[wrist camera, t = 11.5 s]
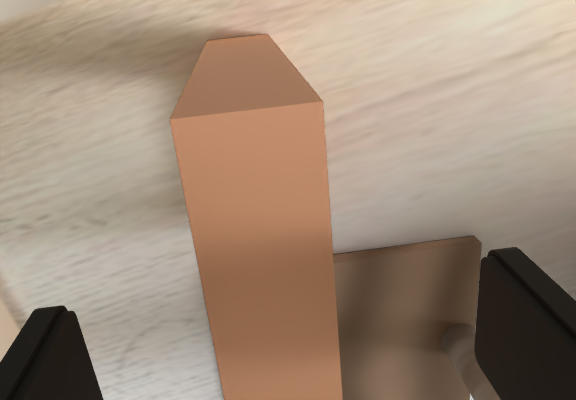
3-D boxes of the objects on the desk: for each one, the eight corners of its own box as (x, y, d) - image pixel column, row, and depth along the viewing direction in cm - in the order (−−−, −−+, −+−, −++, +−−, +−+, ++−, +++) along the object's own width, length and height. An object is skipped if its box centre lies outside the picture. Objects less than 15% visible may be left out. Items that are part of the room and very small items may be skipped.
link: (267, 34, 24) (322, 101, 10) (286, 215, 28) (346, 457, 14) (207, 40, 24) (169, 119, 9) (235, 222, 28) (239, 474, 13)
